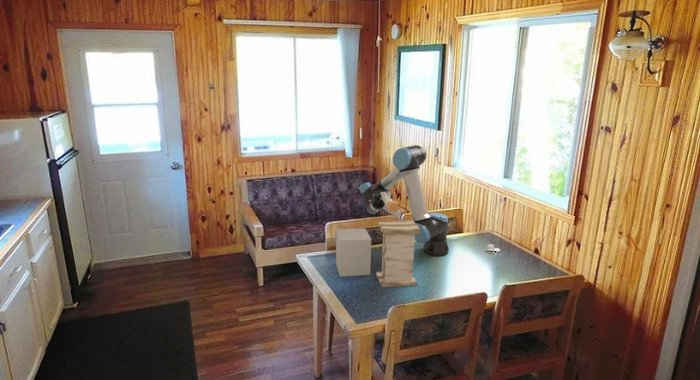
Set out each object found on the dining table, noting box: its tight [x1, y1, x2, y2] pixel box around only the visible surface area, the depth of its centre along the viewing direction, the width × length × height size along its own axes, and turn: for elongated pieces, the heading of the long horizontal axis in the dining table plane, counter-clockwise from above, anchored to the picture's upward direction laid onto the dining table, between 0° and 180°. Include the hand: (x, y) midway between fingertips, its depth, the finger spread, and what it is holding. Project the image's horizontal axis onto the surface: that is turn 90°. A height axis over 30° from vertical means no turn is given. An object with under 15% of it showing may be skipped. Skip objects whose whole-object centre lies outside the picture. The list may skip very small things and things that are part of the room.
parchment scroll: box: [375, 219, 421, 288], centre depth 227 cm, size 14×18×30 cm
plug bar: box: [380, 192, 399, 212], centre depth 242 cm, size 24×4×4 cm, turn 10°
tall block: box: [335, 227, 372, 277], centre depth 240 cm, size 16×16×20 cm
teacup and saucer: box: [488, 244, 501, 253], centre depth 269 cm, size 9×8×4 cm
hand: (386, 194), depth 245 cm, fingers closed on plug bar, 3 cm apart
